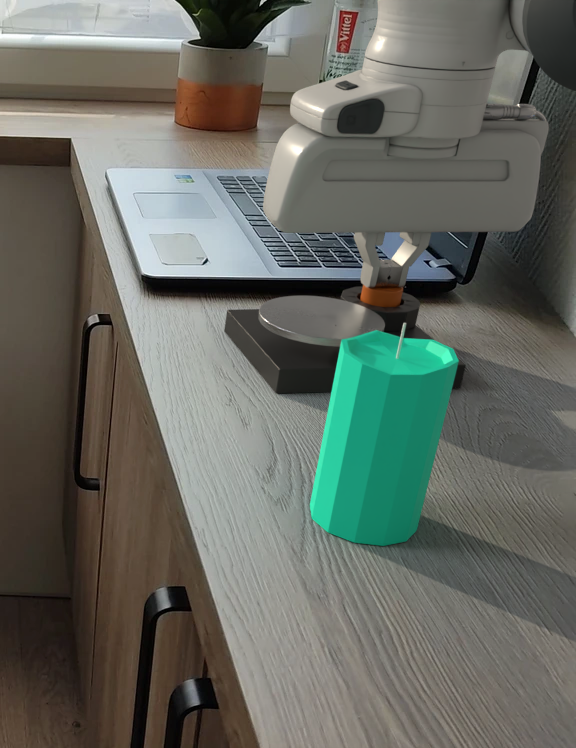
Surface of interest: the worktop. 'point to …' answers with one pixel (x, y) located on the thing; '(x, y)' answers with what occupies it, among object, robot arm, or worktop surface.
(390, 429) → the candle
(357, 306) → the weighing pan
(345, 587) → the worktop surface
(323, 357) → the scale
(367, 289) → the tare button
